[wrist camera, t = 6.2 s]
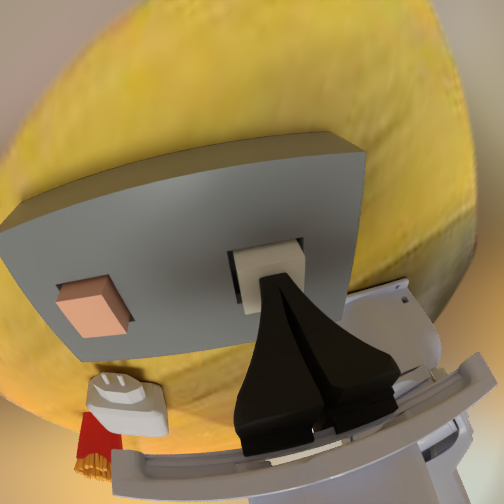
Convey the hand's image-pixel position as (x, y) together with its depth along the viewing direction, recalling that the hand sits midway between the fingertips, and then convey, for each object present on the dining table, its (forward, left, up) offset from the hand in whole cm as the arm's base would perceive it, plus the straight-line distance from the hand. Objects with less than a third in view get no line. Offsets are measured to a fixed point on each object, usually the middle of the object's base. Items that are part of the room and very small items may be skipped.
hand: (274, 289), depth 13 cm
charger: (+18, +18, -6) cm, 26 cm away
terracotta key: (+10, 0, -3) cm, 10 cm away
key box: (+5, 0, -5) cm, 7 cm away
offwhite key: (0, 0, -3) cm, 3 cm away
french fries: (+29, +30, -5) cm, 42 cm away
